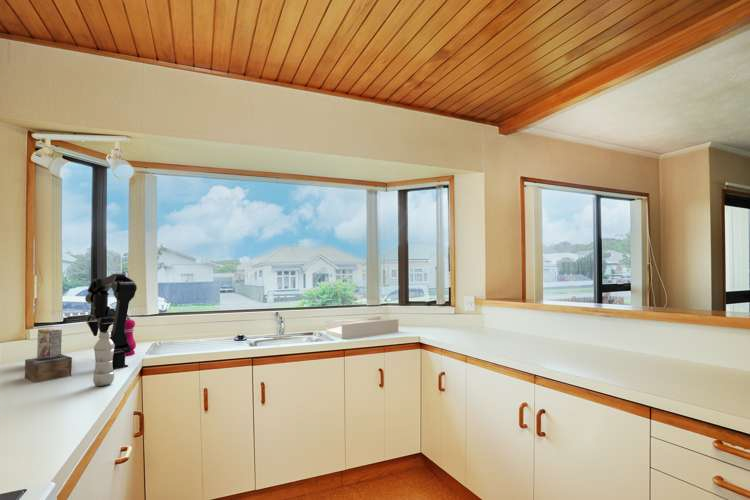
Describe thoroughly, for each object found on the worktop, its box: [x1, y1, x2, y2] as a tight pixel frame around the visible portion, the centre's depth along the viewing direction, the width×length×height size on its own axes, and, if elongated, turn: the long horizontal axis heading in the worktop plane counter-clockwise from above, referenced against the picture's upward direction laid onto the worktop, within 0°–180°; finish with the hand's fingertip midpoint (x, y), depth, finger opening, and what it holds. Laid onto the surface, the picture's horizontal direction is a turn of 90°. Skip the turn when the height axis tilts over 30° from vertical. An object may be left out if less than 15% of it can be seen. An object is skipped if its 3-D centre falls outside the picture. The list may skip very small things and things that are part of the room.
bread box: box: [325, 316, 399, 340], centre depth 265 cm, size 45×22×10 cm, turn 123°
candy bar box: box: [36, 327, 63, 358], centre depth 182 cm, size 11×5×16 cm, turn 65°
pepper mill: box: [124, 316, 137, 357], centre depth 201 cm, size 7×7×20 cm
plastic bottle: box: [92, 331, 115, 387], centre depth 147 cm, size 6×7×20 cm
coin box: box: [24, 353, 73, 384], centre depth 159 cm, size 12×12×8 cm
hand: (99, 336), depth 186 cm, fingers open, 9 cm apart
